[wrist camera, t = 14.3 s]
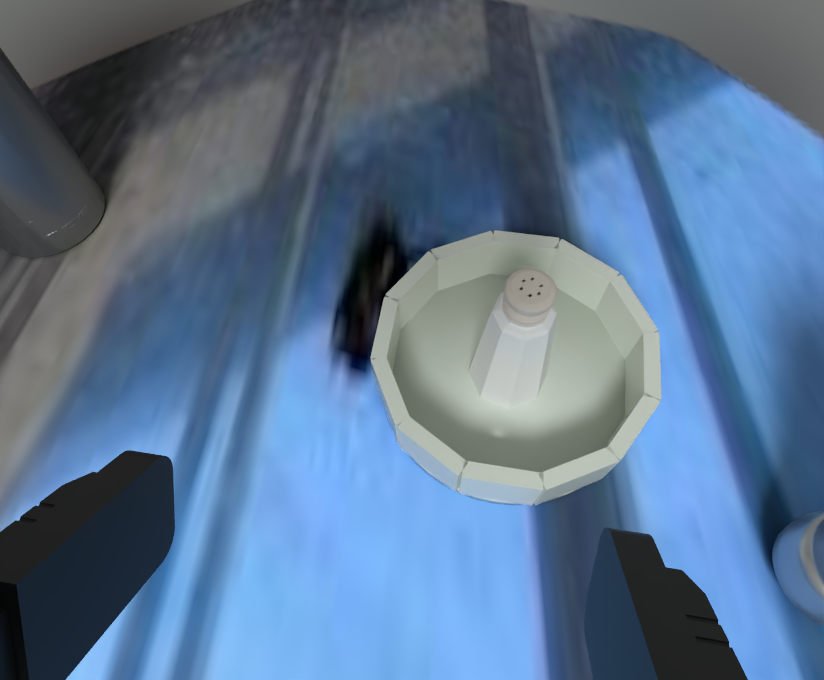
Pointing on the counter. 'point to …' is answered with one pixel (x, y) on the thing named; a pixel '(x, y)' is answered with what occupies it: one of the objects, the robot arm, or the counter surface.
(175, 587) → the counter surface
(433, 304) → the bowl
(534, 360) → the salt shaker
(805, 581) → the plastic bottle
